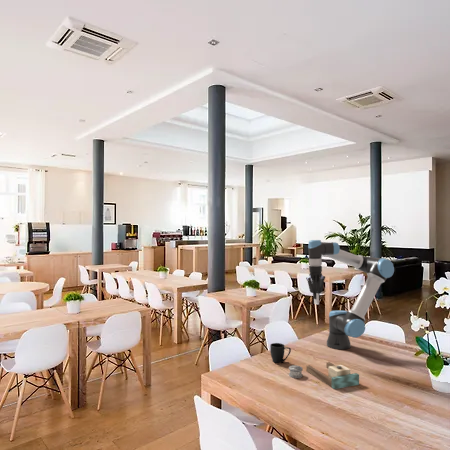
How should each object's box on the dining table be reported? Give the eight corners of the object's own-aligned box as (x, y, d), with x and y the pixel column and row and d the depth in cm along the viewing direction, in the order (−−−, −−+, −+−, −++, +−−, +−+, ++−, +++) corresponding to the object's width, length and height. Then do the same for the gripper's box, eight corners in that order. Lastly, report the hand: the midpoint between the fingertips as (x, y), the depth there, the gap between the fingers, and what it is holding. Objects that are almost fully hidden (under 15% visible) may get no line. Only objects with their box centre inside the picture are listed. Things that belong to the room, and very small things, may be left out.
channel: (329, 367, 204) (329, 358, 204) (359, 384, 182) (359, 374, 182) (306, 371, 199) (306, 361, 199) (334, 389, 176) (334, 378, 176)
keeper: (341, 378, 189) (341, 363, 189) (350, 383, 182) (350, 368, 183) (328, 380, 186) (328, 365, 186) (337, 385, 180) (337, 370, 180)
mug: (288, 366, 206) (288, 349, 206) (268, 362, 212) (268, 346, 212) (292, 361, 213) (292, 345, 214) (273, 358, 219) (273, 342, 219)
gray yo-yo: (298, 372, 198) (297, 364, 198) (305, 377, 191) (305, 369, 191) (286, 374, 195) (286, 366, 195) (293, 379, 188) (293, 371, 189)
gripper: (320, 264, 228) (321, 301, 228) (302, 265, 223) (304, 304, 223) (328, 265, 221) (329, 304, 221) (310, 266, 216) (311, 306, 216)
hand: (316, 304), depth 222 cm, fingers closed
